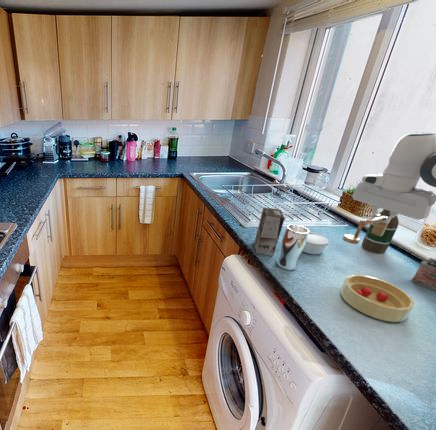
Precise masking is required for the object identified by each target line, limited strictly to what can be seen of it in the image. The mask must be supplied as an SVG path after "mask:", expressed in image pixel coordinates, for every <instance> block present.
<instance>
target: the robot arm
mask: <svg viewBox="0 0 436 430" xmlns="http://www.w3.org/2000/svg"><path fill="white" fill-rule="evenodd" d="M420 180H422V181H423V182H424V183H425V184H426V185H428V186H430V187H433V188H436V133H435V132H411V133H407V134H405V135H403V136H401V137H400V138H399V140H398V141H397V142H396V144H395V145H394V148H393V149H392V152H391V154H390V156H389V158H388V164H387V166H386V167H385V169H383V173H373V174H367V175H363V176H362V178H361V182H359V183H358V184H357V186H356V187H355V189H354V190H353V192H352V199H353V200H354V201H358V202H361V203H363V204H367V205H370V206H372V207H371V211H372V216H371V218H374V217H379V216H381V215H380V214H378V213H379V210H380V209H382V210H383V209H385V210H388V211H391V212H390V214H392V215H390V216H389V217H383V220H382V222H384V223H389V222H390V220H391V218H393V217H395V216H396V215H397V216H398V215H401V216H404V217H408V218H411V219H413V220H417V221H420V220H424V219H426V218H428V216H429V215H430V212H431V210H432V206H433V205H435V203H436V193H434V191H432V190H428V189H424V188H422V187H421V188H420V187H417V185H418V184H419V181H420Z"/></svg>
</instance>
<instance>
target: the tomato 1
mask: <svg viewBox="0 0 436 430" xmlns="http://www.w3.org/2000/svg"><path fill="white" fill-rule="evenodd" d="M360 291H361V292H362V293H363V295H364V296H370V295H371V293H372V292H371V290H370V289H369V288H366V287H365V288H362V289H361V290H360Z"/></svg>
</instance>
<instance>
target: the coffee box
mask: <svg viewBox="0 0 436 430" xmlns="http://www.w3.org/2000/svg"><path fill="white" fill-rule="evenodd" d="M285 218H286V217H285V216H284V213H283V211H282V209H279V208H272V207H271V208H270V207H263V208H262V211H261V216H260V219H259V222H258V227H257V232H256V235H255V239H254V247H255V248H254V249H255V253H256V254H259V255H264V256H270V257H274V255H275V252H276V249H277V245H278V241H279V238H280V236H281V232H282V229H283V225H284V222H285Z"/></svg>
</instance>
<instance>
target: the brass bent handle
mask: <svg viewBox="0 0 436 430" xmlns="http://www.w3.org/2000/svg"><path fill="white" fill-rule="evenodd" d="M383 217H386V216H379V217H374V218H372V217H370V218H364V219H360V220H359V223H358V227H357V229H356V231H355V234H354V235H353V234H351V233H350V234H349V233H345V234H343V235H342V240H343V241H344V242H346V243H348V244H353V245H358V244H359V243H360V242H361V238H360V237H359V235H360V234H361V231H362V229H363V227H365V226H370V225H371V224H374V226H373V228H372V231H371V233H373V234H375V235H378V236H383V234H384V232H385V230H386V228H387V226H388V224H389V223H384V222H382V220H383Z"/></svg>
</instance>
